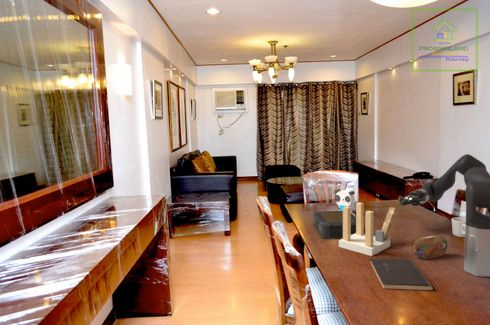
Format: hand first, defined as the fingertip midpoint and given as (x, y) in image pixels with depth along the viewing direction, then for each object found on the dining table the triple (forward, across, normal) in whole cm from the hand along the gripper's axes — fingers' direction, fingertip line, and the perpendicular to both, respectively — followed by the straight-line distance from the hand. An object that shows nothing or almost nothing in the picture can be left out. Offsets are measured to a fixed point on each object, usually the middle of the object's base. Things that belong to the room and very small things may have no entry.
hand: (402, 203), depth 169 cm
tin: (+17, +20, +16) cm, 31 cm away
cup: (-17, +20, +16) cm, 31 cm away
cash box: (+14, -27, +17) cm, 35 cm away
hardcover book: (+43, +19, +16) cm, 49 cm away
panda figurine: (-15, -42, +17) cm, 47 cm away
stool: (+25, -5, +16) cm, 30 cm away
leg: (+19, 0, +12) cm, 23 cm away
